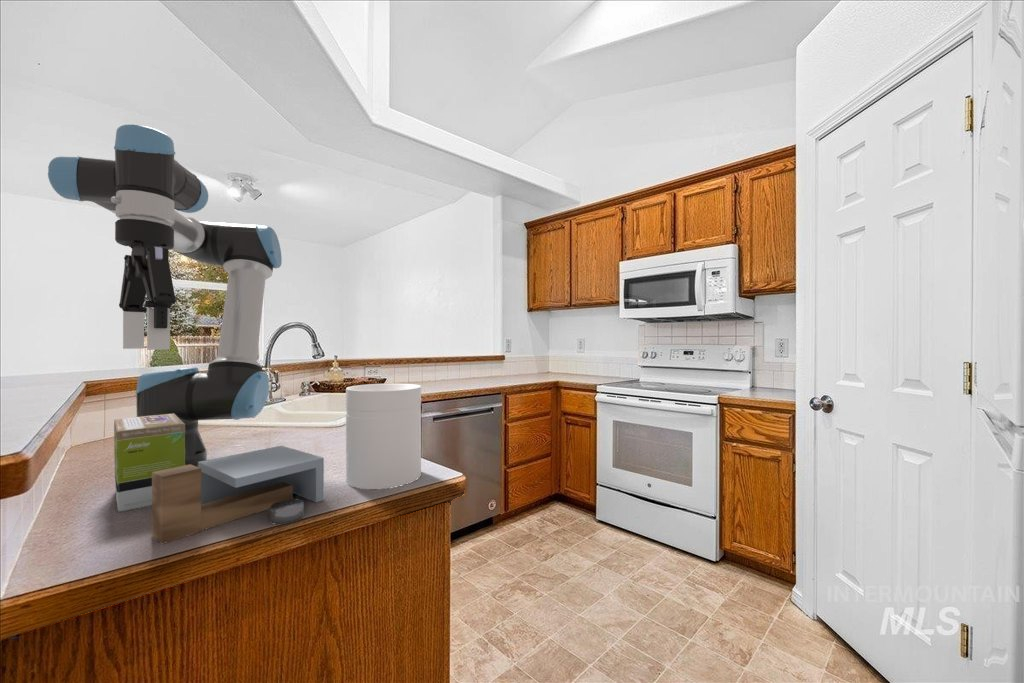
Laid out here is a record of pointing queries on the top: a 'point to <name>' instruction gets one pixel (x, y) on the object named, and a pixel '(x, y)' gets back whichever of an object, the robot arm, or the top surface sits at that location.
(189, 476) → the wooden l-shaped block
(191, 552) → the top surface
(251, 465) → the low shelf
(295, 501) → the steel puck
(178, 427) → the tea box
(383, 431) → the canister
